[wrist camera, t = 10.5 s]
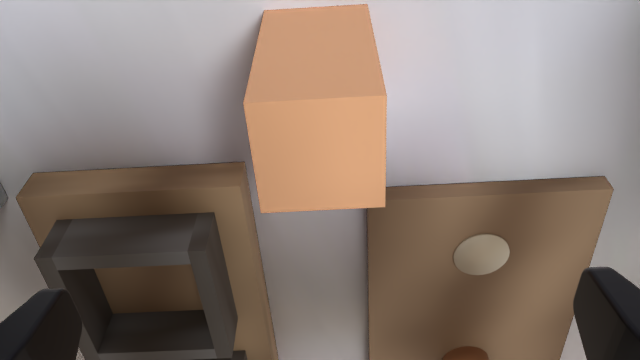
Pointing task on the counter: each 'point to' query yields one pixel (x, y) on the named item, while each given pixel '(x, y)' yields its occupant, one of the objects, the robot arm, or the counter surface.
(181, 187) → the socket board
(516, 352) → the plate
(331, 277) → the counter surface
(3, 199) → the housing
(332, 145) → the tan rectangular block
